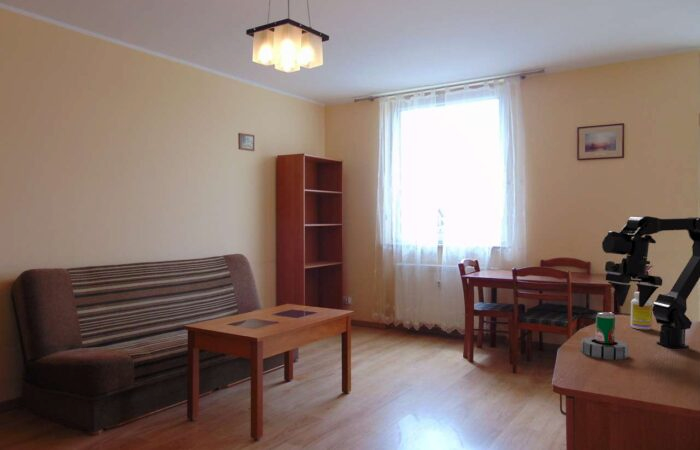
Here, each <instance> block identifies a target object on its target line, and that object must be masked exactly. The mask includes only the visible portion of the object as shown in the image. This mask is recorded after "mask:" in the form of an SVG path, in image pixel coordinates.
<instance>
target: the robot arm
mask: <svg viewBox="0 0 700 450" xmlns="http://www.w3.org/2000/svg"><path fill="white" fill-rule="evenodd" d="M664 231H666V232H667V231H687V233H688V236H689V237H688V238H690V239H691V241H692V242H693V243H692V246H691V249H692V250H691V251H692V255H691V257H690V258H689V260H688V262H687V263H686V265H684V266H685V267H684V268H683V270H682V271H681V273H680V274H679V276H678V278H677V279H676V281H675V283H674V284H673V286H672V288H671V289H670V291H668V293H666V294H663V293H659V294H658V295H657V298H656V300H654V302H653V303H652V315H653V316H654V318H655V321H656V323H657V324H660V330H659V341H656V344H658V345H661V346H664V347H667V348H670V349H680V348H690V345H688V344H686V330H690V329H691V328H692V324H693V322H692V320H691V319H690V318H688V316H687V315H686V312H687V310H688V307H687V300H688V298H689V296H690V294H691V293H692V291H693V290H694V288H695V287H696V285H697V283H698V282H699V280H700V217H699V216H698V217H695V216H688V217H685V218H684V217H683V218H681V217H678V218H677V217H675V218H674V217H673V218H658V217H654V216H648V215H647V216H646V215H633V216H630V217H629V218H628V219H627V222H626V224H625V225H623V227H622V228H621V229H620V230H619V232H617V231H611V230H609V231H607V235H605V237H604V238H603V240H602V242H601V248H602V251H603V252H604V253H606V254H613V255H623V256H624V255H626V256H625V257H622V259H621V262H619V263H615V262H614V261H611V260H610V261H606V262H605V266H604V271H605V272H607V273H606V274H605V277H604V278H605V279H604V280H605V281H607V283H608V284H610V285H611V286H612V288H613V289H614V291H615V295H616V300H617V304H618V306H619V307H623V306H624V304H625V302H626V299H627V297H628V294H629V290H630V289H631V284H630V283H631V282H635V285H636V286H637V288H638V290H639V291H638V292H639V307H643V306H644V305H645V303H646V302H647V301H648V300H650V298H651V297H652V295H653V294H654V293H655V292H656V291H657V289H659V288H660V287H662V286H663V278H662V277H661V276H660V275H659V276H658V275H652V274H648V273H647V265H650V264H651V261H650V260H648V255H649V246H650V244H656V243H657V241H656V240H655V238H653V237H652V235H654V234H658V233H660V232H664ZM636 282H637V283H636Z"/></svg>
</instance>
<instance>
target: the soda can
mask: <svg viewBox="0 0 700 450" xmlns="http://www.w3.org/2000/svg"><path fill="white" fill-rule="evenodd" d="M615 337H616V317H615V314H614V313H612V312H607V311H598V312H597V314H596V316H595V338H596V339H595V343H597V344H602V345H615V339H616V338H615Z"/></svg>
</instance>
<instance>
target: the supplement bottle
mask: <svg viewBox="0 0 700 450" xmlns="http://www.w3.org/2000/svg"><path fill="white" fill-rule="evenodd" d="M633 294H634V295H633V296H634V298H633V299H632V300H630V327H631V328H633V329H637V330H646V331H647V330H648V331H649V330H651V329H652V321H653V319H652V316H653V311H652V308H653V303H652V301H651V300H650V299H648V301H647V302H646V303H645V305H644V306H643V307H639V291H634V293H633Z"/></svg>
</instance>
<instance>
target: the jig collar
mask: <svg viewBox="0 0 700 450" xmlns="http://www.w3.org/2000/svg"><path fill="white" fill-rule="evenodd" d="M595 339H596V336H591V337H590V336H587V337H583V338H581V347H580V348H581V351H580V352H581V353H582V354H583V355H586V356H588V357H592V358H594V359H595V358H596V359H600V360H601V359H603V360H610V361H613V360H615V361H618V360H619V361H620V360H626V359H627V358H628V357H629V343H627V342H625V341H623V340H620V339H616V338H615V345H602V344H597V343H595Z"/></svg>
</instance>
